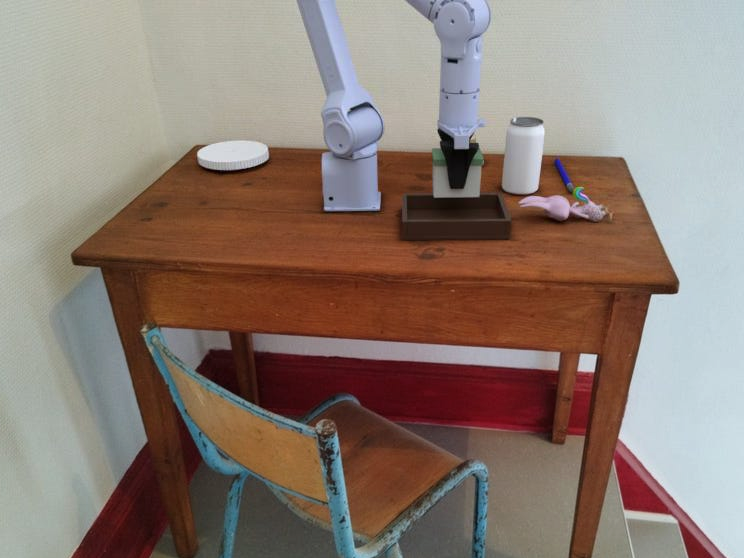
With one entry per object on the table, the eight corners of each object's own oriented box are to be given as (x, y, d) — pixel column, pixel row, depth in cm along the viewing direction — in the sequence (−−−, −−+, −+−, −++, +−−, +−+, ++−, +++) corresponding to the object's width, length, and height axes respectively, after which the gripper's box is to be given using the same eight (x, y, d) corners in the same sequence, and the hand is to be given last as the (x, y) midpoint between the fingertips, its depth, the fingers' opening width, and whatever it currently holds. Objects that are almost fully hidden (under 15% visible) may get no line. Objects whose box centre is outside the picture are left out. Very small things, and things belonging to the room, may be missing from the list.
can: (537, 196, 116) (546, 127, 109) (500, 194, 117) (506, 125, 110) (538, 184, 121) (546, 116, 114) (502, 182, 122) (508, 115, 115)
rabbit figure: (599, 219, 111) (512, 207, 109) (611, 184, 107) (522, 172, 106) (610, 234, 106) (520, 222, 104) (623, 199, 102) (530, 186, 101)
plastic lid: (245, 148, 141) (243, 136, 140) (283, 163, 133) (281, 150, 131) (186, 163, 134) (184, 151, 132) (222, 180, 125) (220, 167, 124)
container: (432, 198, 101) (433, 159, 98) (431, 185, 106) (431, 148, 102) (480, 197, 101) (483, 158, 98) (477, 185, 105) (479, 147, 102)
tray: (402, 240, 102) (402, 221, 100) (401, 211, 111) (401, 193, 110) (509, 239, 101) (511, 220, 100) (500, 210, 111) (501, 192, 109)
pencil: (573, 193, 116) (574, 187, 116) (568, 193, 117) (569, 187, 116) (558, 161, 130) (558, 156, 130) (553, 161, 130) (554, 156, 130)
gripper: (493, 101, 89) (486, 198, 96) (482, 77, 100) (476, 165, 108) (441, 102, 89) (438, 199, 97) (436, 78, 101) (433, 166, 108)
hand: (455, 181), depth 102 cm, fingers closed on container, 5 cm apart
